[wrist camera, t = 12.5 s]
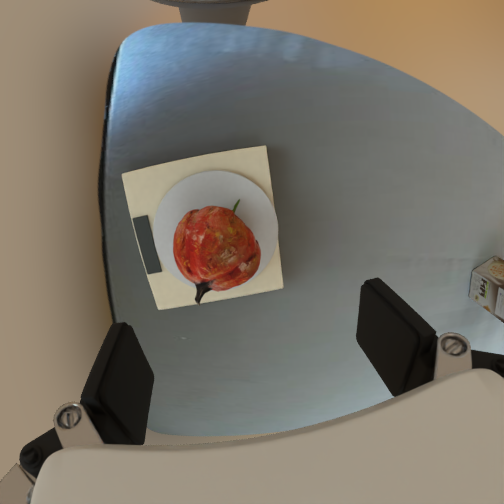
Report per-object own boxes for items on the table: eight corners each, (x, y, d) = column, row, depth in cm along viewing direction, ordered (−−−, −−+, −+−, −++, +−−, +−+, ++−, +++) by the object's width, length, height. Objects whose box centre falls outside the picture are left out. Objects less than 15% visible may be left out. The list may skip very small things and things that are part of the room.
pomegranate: (194, 187, 26) (139, 275, 22) (233, 157, 20) (162, 269, 16) (249, 231, 29) (206, 316, 25) (297, 216, 23) (250, 324, 19)
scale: (128, 172, 25) (118, 174, 22) (261, 146, 26) (267, 145, 23) (161, 299, 31) (157, 314, 28) (278, 278, 32) (285, 292, 29)
